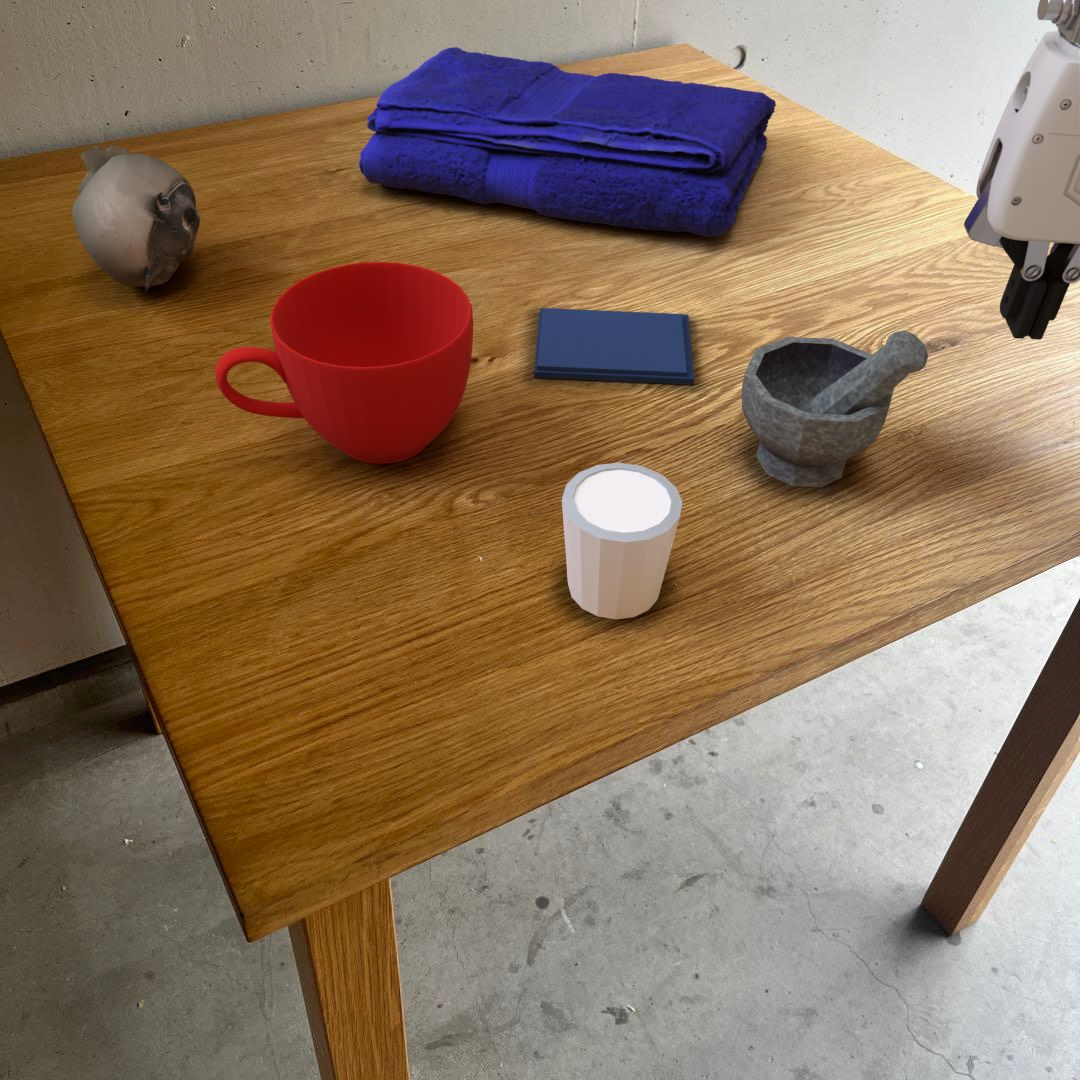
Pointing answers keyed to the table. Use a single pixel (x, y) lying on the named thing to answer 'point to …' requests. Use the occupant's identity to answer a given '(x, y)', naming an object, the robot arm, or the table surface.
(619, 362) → the blue flat slab
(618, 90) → the towel
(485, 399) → the table surface
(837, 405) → the mortar and pestle
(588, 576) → the beige tapered cup
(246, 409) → the ceramic cup
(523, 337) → the table surface
